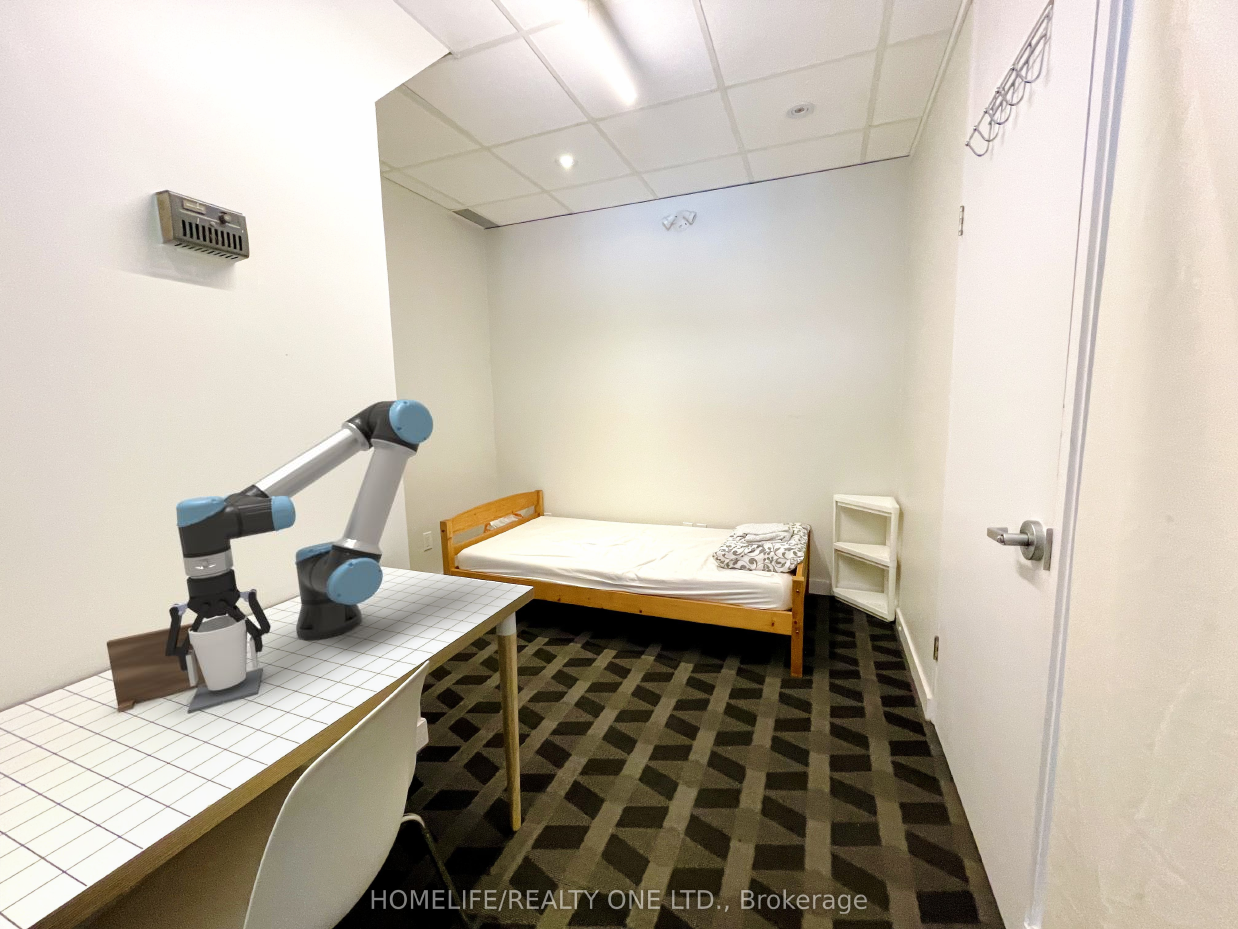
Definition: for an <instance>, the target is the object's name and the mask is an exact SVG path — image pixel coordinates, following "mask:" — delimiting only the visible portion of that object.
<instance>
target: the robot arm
mask: <svg viewBox="0 0 1238 929" xmlns="http://www.w3.org/2000/svg"><path fill="white" fill-rule="evenodd" d="M433 429H434V419H433V417H432V415H431V413H430V410H429V409H428V408H427V407H426V406H425V405H424V404H423V403H421V402H419V401H417V400H414V399H413V400H412V399H406V398H401V399H398V400H386V401H385V400H384V401H377V402H374V403H373V404H371V405H369V406H367V407H366V408H364V409H362V410H361V411H359V412H358V413H357V414H355V415H353V416H351V417H350V418H349V419H347V420H346V421H344V422H342V424H341V427H340V429H339V430H337V431H335V432H334V433H332V434H331V435H329V436H327V437H326V438H324V439H322V440H321V441H319V442H318V443H316V444H315V445H313V446H311V447H310V448H308V449H306V450H305V451H303V452H302V453H300V454H298V455H297V456H296V457H294V458H292V459H291V460H289V461H287V462H286V463H284V464H283V465H281V466H279V467H278V468H276V469H275V470H273V471H272V472H269V473H268V474H267V475H265V476H264V477H262V478H260V479H259V480H257V481H255V482H253V483H252V484H251V485H250V486H248V487H246V488H244V489H242V490H241V491H239V492H233V493H230V494H228V495H226V496H224V497H222V496H218V495H216V496H212V495H210V496H203V497H202V496H201V497H193V498H188V499H183V500H182V501H180V502H178V503H177V504H176V508H175V510H176V521H177V522H176V527H177V530H178V534H179V540H180V546H181V547H180V548H181V551H182V560H183V565H184V566H183V567H184V572H185V575H186V576H188V577H187V579H186V584H187V593H188V601H187V602H184V603H174V604H173V605H172V606H171V607H170V609H169V610H168V612H169V615H170V619H171V620H170V625H169V628H170V630H169V635H168V641H167V646H166V651H165V655H166V656H168V657H169V656H178V657H179V661H180V667H181V670H182V671H185V670H188V674H189V680H190V686H195V685H196V683H197V681H198V674H197V668H196V662H195V655H194V650H190V651H188V649H189V647H190V645H191V643H190V637H189V633H188V634H187V636H186V638H185V640H184V642H183V644H182V646H181V647H177V642H178V636H179V631H180V626H181V625H182V619H183V615H184V614H185V613H186V612H187V609H189V610H190V611H192V612H193V613H194V614H196V617H195V619H194V621H193V622H192V623H193V625H192V627H191V629H190V631H193V632H197V631H198V629H199V627H200V625H201V623H202V621H204V620H207V619H210V618H214V617H217V616H224V615H227V614H228V615H229V616H230V617H231V618H233V619H234V620H235V621H236V622H237V623H238V622H240V621H241V620H244V619H245V616H247V615H245V613H244V612H243V611H242V610H241V609H240V607H239V606H238V605H237V603H238V602H239V600H240V599H243V601H244V602H246V603H248V606H249V608H250V610H251V612H252V614H253V615H254V618H255V620H256V621H257V623H258V625H259V627H258V626H257V625H256V624H255V623H254V622H253V621H252V620H251V619H250V618H249V617H248V616H247V620H245V625H246V631H247V634H248V635H250V637H249V641H248V644H249V650H250V656H251V663H252V670H256V669H259V664H260V661H259V655H258V653H260V652H262V651H263V649H264V644H263V638H262V637H263V636H264V635H268V633H270V631H271V628H272V626H271V623H270V622H269V620H268V618H267V616H266V614H265V612H264V610H263V608H262V605H261V604H260V602H259V601H258V594H257V593H258V592H257V589H255V588H252V589H250V590H248V591H246V590H245V591H240V590H239V588H238V586H237V578H236V572H235V570H234V569H233V567H234V566H235V565H234V559H233V558H234V557H233V553H232V552H233V551H232V545H231V540H235V539H240V538H246V537H251V536H257V535H262V534H266V533H271V532H279V531H281V530H285V529H289V528H291V527H293V526H294V524H295V522H296V520H297V518H296V516H297V514H296V508H295V505H294V502H293V501H292V498H293V497H294V496H296V495H297V494H299V493H300V492H301V491H303V490H304V489H306V488H307V487H309V486H310V485H312V484H313V483H315V482H316V481H318V480H319V479H321V478H322V477H324V476H325V475H327V474H329V472H331V471H333V470H334V469H335V468H337V467H338V466H340V465H342V464H343V463H344V462H347V461H348V460H349V459H351V458H352V457H354V456H355V455H356V454H358V453H359V452H368V451H370V449H372V448H373V451H372V455H371V457H370V459H369V462H368V466H367V468H366V470H365V474H364V476H363V479H362V481H361V485H360V488H359V490H358V493H357V495H356V499H355V501H354V504H353V507H352V510H351V513H350V515H349V519H348V521H347V523H346V526H345V529H344V532H343V534H342V537H341V538H339V539H337V540H336V541H327V542H323V543H318V544H314V545H309V546H306V547H305V546H304V547H302V548H300V549H298V550H297V551H296V553H295V562H294V564H295V567H296V574H297V581H298V589H299V595H300V596H299V597H300V603H301V605H300V609H299V614H298V618H297V622H296V626H295V629H296V636H297V637H298V639H300V640H306V641H311V640H312V641H313V640H314V641H316V640H325V639H328V638H331V637H332V638H333V637H336V636H340V635H342V634H344V633H347V632H349V631H351V630H353V629H355V628H357V627H358V626H359V625H360V624H361V622H362V621H363V620H362V611H361V610H360V607H359V606H358V605H359V604H362V603H363V602H366V601H367V600H369V599H370V598H372V597H373V596H374V595H375V594H376V593H377V591H378V590H379V589H380V587H381V584H383V583H382V581H383V579H384V573H383V570H382V568H381V565H380V562H381V559H382V556H383V552H382V550H381V547H380V542H381V538H382V536H383V534H384V530H385V528H386V524H387V521H388V519H389V516H390V513H391V510H392V506H393V505H394V501H395V498H396V495H397V492H398V490H399V487H400V483H401V482H402V481H401V480H402V478H403V474H404V472H405V469H406V466H407V463H408V460H409V459H410V458H411V457H412V458H413V457H414V456H416V455H417V453H418V449H419V446H420V444H422V443H424V442H426V441H427V440H428V439H429V438H430V437H431V435H432V433H433V431H434V430H433Z"/></svg>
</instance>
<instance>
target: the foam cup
mask: <svg viewBox="0 0 1238 929" xmlns="http://www.w3.org/2000/svg"><path fill="white" fill-rule="evenodd" d="M244 614H245V613H244ZM245 615H246V614H245ZM247 617H248V616H247V615H246V616H245V619H244V620H241V621H240V622H238V623H237V622H236V621H235V620H234V619H233V618H231V617H230V616H229V615H228V614H226V615H224V616H215V617H213V618H210V619H203V621H202V623H201V625H200V627H199V629H198V631H197V632H193V631H190V629H191V628H190V629H188V632H189V637H190V643H191V644H192V645H193V648H194V651H195V653H196V656H197V659H198V662H199V665H200V667H201V670H202V673H203V676H204V679H205V682H206V684H207V687H208V689H209V690H222V689H225V688H229V687H231V686H234V685H236V684H238V683H240V682H241V681H243V680H244V679H245V677H246V672H247V665H248V664H247V660H248V656H247V655H248V632H247V631H246V625H245V620H247Z"/></svg>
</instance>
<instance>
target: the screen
mask: <svg viewBox="0 0 1238 929" xmlns="http://www.w3.org/2000/svg"><path fill="white" fill-rule="evenodd" d="M193 623H194V622H192V623H187V624H181V626H180V631H179V636H178V642H177V647H181V646H182V644H183V642H184V640H185V638H186V636H187V634H188V633H189V632H188V629H190V628H191V627H192V625H193ZM169 630H170V627H168V628H162V629H158V630H154V631H148V632H142V633H138V634H134V635H130V636H129V635H127V636H125V637H120V638H115V639H110V640H107V642H106V648H107V653H108V659H109V666H110V670H111V676H112V677H111V678H112V681H113V686H114V693H115V698H116V703H117V704H116V705H117V712H118V714H119V713H122V712H126V711H130V710H133V709H134V707H135V706H136V704H140V703H145V702H148V701H152V700H156V699H160V698H164V697H167V696H172V695H175V694H179V693H182V692H186V691H190V690H193V689H197V688H198V686H199V684H203V683H204V684H203V687H206V686H207V684H206V682H205V679H204V676H203V673H202V670H201V667H200V665H199V662H198V659H197V656H196V653H195V651H194V655H195V662H196V668H197V674H198V681H197V683H196V685H195V686H190V680H189V674H188V670H185V671H182V670H181V667H180V661H179V657H178V656H169V657H168V656H166V655H165V651H166V646H167V641H168V635H169ZM190 650H194V648H193V645H192V644H191V645H190V647H189V649H188V651H190Z"/></svg>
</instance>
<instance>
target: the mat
mask: <svg viewBox="0 0 1238 929" xmlns="http://www.w3.org/2000/svg"><path fill="white" fill-rule="evenodd" d="M263 671H264V670H263V667H261V668H258V669H256V670H253V669H252V670H248V671H246V677H245V679H244V680H243V681H241V682H240V683H238V684H236V685H234V686H231V687H229V688H225V689H222V690H209V689H208V687H207V686H206V687H203V684H204V683H203V684H199V686H198V688H196V690H195V692H194V695H193V697H192V700H191V702H190V704H189V706H188V708H187V710H186V711H187V714H191V713H196V712H198V711H203V710H206V709H209V708H212V707H217V706H219V705H223V704H227V703H230V702H233V701H237V700H241V699H245V698H248V697H250V696H251V697H252V696H255V695H258V694H259V691H260V684H261V680H262V675H263Z"/></svg>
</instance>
